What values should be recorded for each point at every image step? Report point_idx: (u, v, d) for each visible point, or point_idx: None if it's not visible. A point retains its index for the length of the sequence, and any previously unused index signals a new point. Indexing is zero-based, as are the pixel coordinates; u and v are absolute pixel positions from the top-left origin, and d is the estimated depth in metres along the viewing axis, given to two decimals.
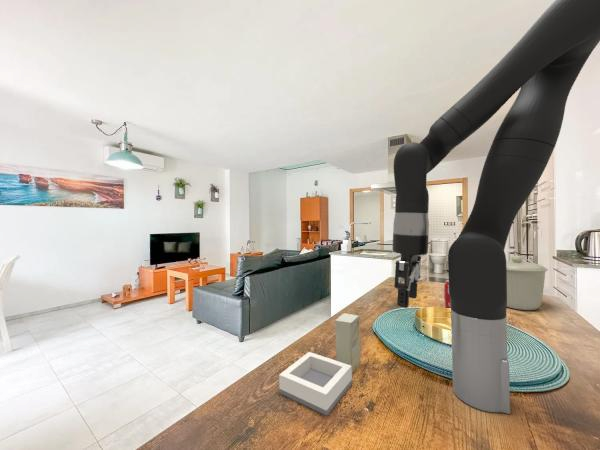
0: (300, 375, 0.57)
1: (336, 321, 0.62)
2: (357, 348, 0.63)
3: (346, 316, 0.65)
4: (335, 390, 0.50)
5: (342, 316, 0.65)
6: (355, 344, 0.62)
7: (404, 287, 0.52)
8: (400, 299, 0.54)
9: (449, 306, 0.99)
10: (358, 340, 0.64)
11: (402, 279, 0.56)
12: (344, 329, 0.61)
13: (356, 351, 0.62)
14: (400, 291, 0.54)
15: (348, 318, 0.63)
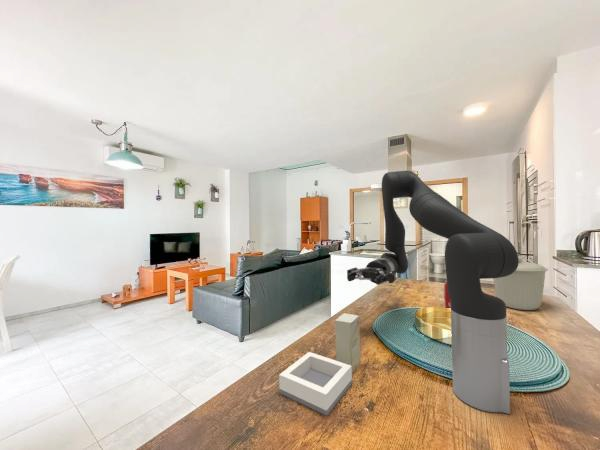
0: (300, 375, 0.57)
1: (336, 321, 0.62)
2: (357, 347, 0.63)
3: (346, 316, 0.65)
4: (335, 390, 0.50)
5: (342, 316, 0.65)
6: (355, 344, 0.62)
7: None
8: None
9: (449, 306, 0.99)
10: (358, 340, 0.64)
11: (358, 275, 0.80)
12: (344, 329, 0.61)
13: (356, 351, 0.62)
14: None
15: (348, 318, 0.63)
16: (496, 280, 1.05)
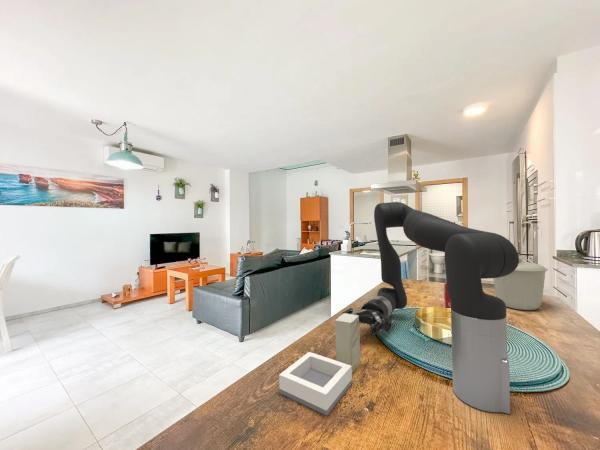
0: (300, 375, 0.57)
1: (336, 321, 0.62)
2: (357, 347, 0.63)
3: (346, 316, 0.65)
4: (335, 390, 0.50)
5: (342, 316, 0.65)
6: (355, 344, 0.62)
7: None
8: None
9: (449, 306, 0.99)
10: (358, 340, 0.64)
11: None
12: (344, 329, 0.61)
13: (356, 351, 0.62)
14: None
15: (348, 318, 0.63)
16: (496, 280, 1.05)
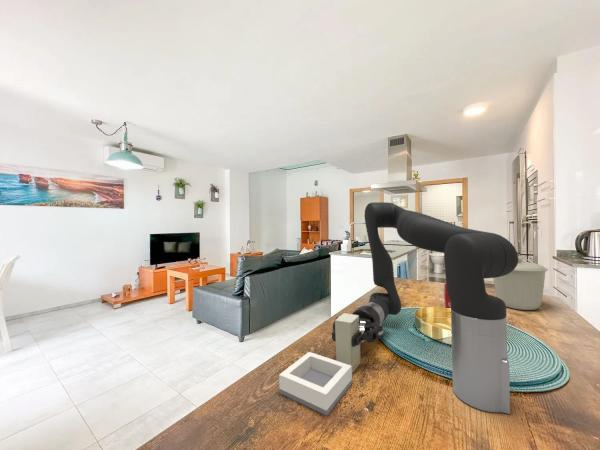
0: (300, 375, 0.57)
1: (336, 321, 0.62)
2: (357, 347, 0.63)
3: (346, 316, 0.65)
4: (335, 390, 0.50)
5: (342, 316, 0.65)
6: None
7: None
8: None
9: (449, 306, 0.99)
10: None
11: None
12: (344, 329, 0.61)
13: (356, 351, 0.62)
14: None
15: (348, 318, 0.63)
16: (496, 280, 1.05)
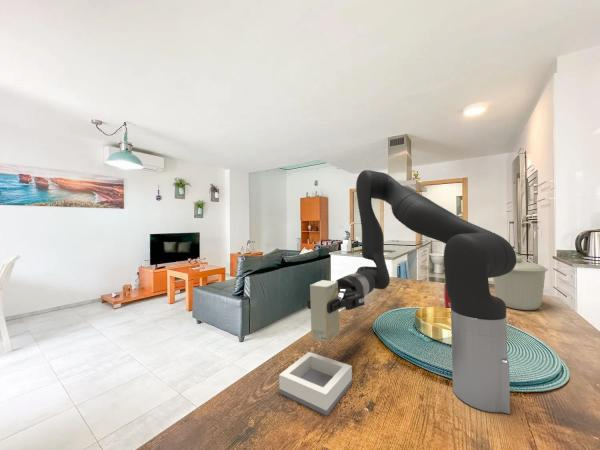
0: (300, 375, 0.57)
1: (311, 286, 0.56)
2: (335, 316, 0.57)
3: (323, 282, 0.59)
4: (335, 390, 0.50)
5: (319, 282, 0.59)
6: None
7: None
8: None
9: (449, 306, 0.99)
10: None
11: None
12: (320, 295, 0.55)
13: (333, 319, 0.56)
14: None
15: (325, 284, 0.57)
16: (496, 280, 1.05)
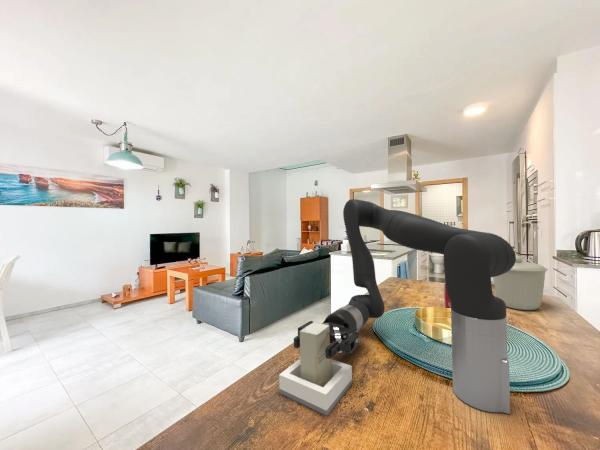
0: (300, 375, 0.57)
1: (301, 332, 0.54)
2: (326, 363, 0.55)
3: (314, 326, 0.56)
4: (335, 390, 0.50)
5: (310, 326, 0.56)
6: (322, 359, 0.53)
7: None
8: None
9: (449, 306, 0.99)
10: None
11: None
12: (309, 342, 0.52)
13: (324, 367, 0.54)
14: None
15: (315, 329, 0.54)
16: (496, 280, 1.05)
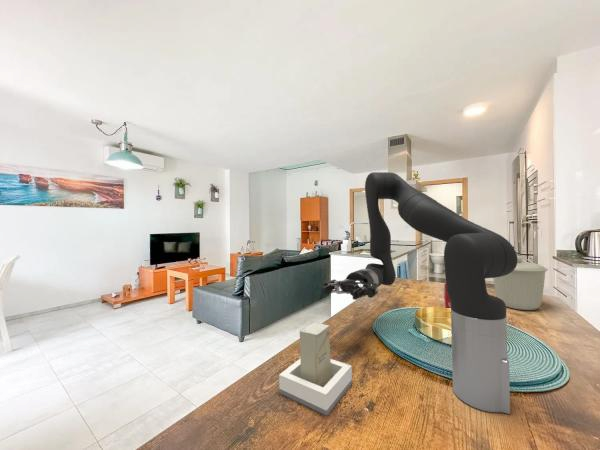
0: (300, 375, 0.57)
1: (301, 332, 0.54)
2: (326, 363, 0.55)
3: (314, 326, 0.56)
4: (335, 390, 0.50)
5: (310, 326, 0.56)
6: (322, 359, 0.53)
7: None
8: None
9: (449, 306, 0.99)
10: (327, 354, 0.55)
11: (335, 289, 0.71)
12: (309, 342, 0.52)
13: (324, 367, 0.54)
14: None
15: (315, 329, 0.54)
16: (496, 280, 1.05)
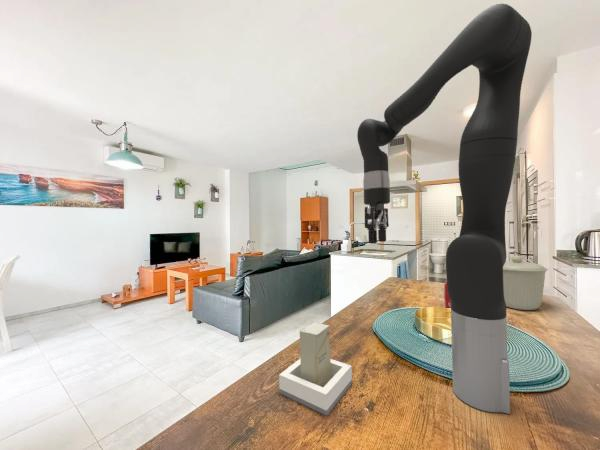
0: (300, 375, 0.57)
1: (301, 332, 0.54)
2: (326, 363, 0.55)
3: (314, 326, 0.56)
4: (335, 390, 0.50)
5: (310, 326, 0.56)
6: (322, 359, 0.53)
7: (371, 225, 0.69)
8: (370, 237, 0.71)
9: (449, 306, 0.99)
10: (327, 354, 0.55)
11: (371, 222, 0.72)
12: (309, 342, 0.52)
13: (324, 367, 0.54)
14: (369, 230, 0.71)
15: (315, 329, 0.54)
16: None
